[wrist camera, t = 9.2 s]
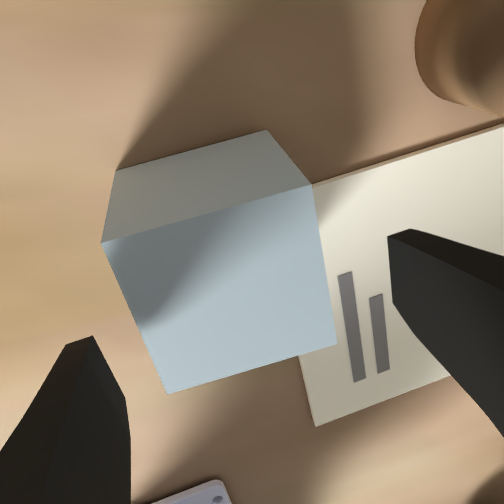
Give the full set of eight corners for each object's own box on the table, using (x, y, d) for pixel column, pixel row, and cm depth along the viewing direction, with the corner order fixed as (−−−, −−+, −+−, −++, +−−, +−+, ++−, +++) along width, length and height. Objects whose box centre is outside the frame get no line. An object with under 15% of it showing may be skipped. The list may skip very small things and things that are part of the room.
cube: (293, 258, 18) (337, 343, 14) (163, 295, 18) (167, 394, 13) (266, 129, 15) (311, 184, 11) (115, 170, 15) (100, 243, 11)
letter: (599, 313, 25) (605, 317, 24) (313, 422, 23) (316, 427, 23) (647, 77, 19) (655, 78, 18) (262, 200, 17) (265, 203, 17)
